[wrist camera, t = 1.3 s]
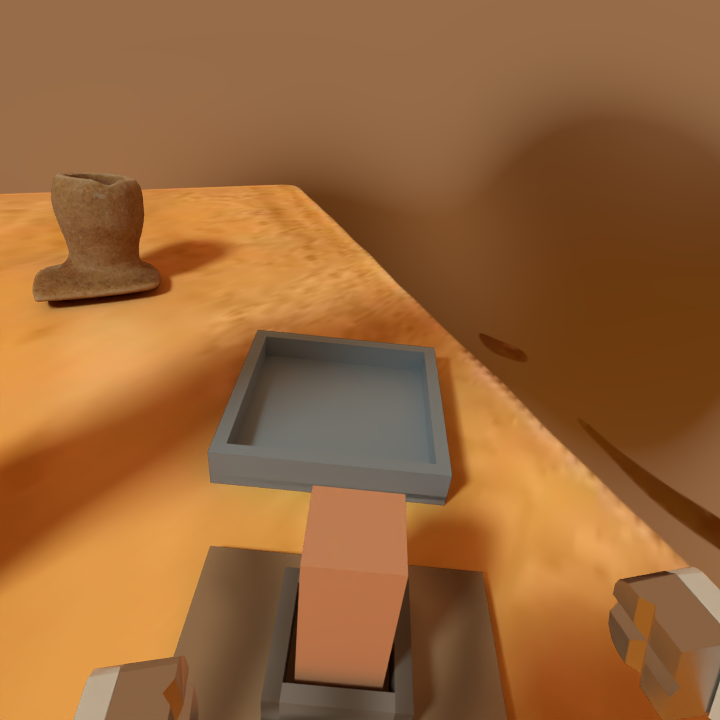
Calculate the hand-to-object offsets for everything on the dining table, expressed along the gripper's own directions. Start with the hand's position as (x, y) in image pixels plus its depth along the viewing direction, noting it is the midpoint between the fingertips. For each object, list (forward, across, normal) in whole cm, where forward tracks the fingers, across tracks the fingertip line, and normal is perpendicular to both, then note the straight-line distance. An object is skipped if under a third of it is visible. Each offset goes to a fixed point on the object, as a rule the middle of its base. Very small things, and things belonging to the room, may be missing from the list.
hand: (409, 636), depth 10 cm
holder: (+16, +2, +22) cm, 28 cm away
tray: (+40, -1, +19) cm, 44 cm away
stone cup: (+68, +27, +10) cm, 74 cm away
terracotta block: (+16, +1, +22) cm, 27 cm away
